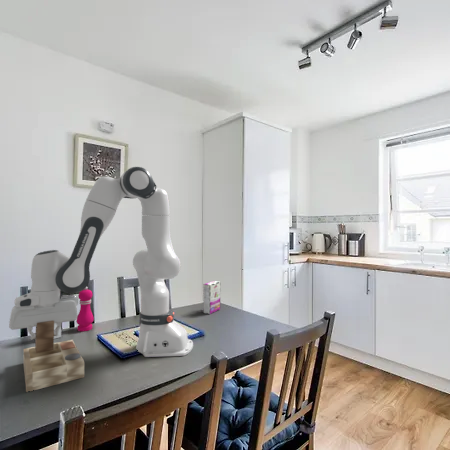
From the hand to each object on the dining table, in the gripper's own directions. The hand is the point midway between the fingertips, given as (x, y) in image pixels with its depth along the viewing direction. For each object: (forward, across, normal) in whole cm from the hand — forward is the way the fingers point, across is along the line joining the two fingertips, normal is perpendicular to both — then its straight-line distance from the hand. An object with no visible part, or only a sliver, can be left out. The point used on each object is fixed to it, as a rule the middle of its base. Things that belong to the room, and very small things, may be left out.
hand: (44, 337), depth 104 cm
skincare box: (+10, -5, -26) cm, 28 cm away
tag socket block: (+10, -2, +6) cm, 11 cm away
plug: (+4, 0, 0) cm, 4 cm away
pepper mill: (+10, -19, -30) cm, 37 cm away
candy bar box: (+9, -84, -22) cm, 87 cm away
